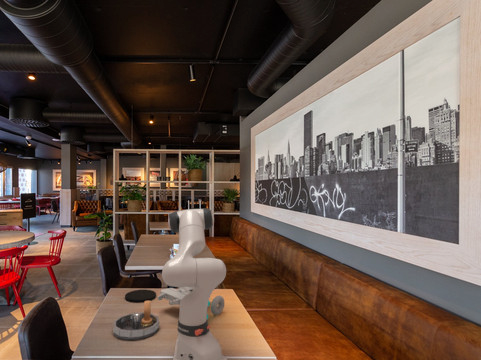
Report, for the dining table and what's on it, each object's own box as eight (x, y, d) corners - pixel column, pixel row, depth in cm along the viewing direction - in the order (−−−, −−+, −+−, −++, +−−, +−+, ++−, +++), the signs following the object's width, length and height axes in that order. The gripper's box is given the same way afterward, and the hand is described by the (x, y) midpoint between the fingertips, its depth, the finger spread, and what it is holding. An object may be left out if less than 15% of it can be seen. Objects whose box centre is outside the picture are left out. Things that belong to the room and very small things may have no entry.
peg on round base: (154, 321, 153) (154, 300, 153) (147, 325, 148) (148, 304, 149) (145, 319, 155) (146, 299, 155) (139, 323, 150) (140, 302, 150)
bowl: (167, 329, 149) (167, 313, 149) (128, 345, 133) (129, 327, 133) (142, 317, 161) (143, 302, 161) (104, 330, 146) (105, 313, 146)
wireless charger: (121, 303, 179) (121, 300, 179) (128, 292, 196) (128, 289, 197) (153, 303, 181) (153, 299, 181) (157, 292, 199) (158, 289, 199)
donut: (214, 318, 163) (214, 299, 163) (208, 317, 165) (209, 297, 165) (225, 312, 171) (226, 294, 171) (220, 311, 173) (221, 292, 173)
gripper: (173, 283, 177) (152, 289, 166) (198, 292, 164) (177, 299, 153) (172, 294, 177) (151, 301, 166) (197, 305, 164) (176, 312, 153)
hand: (163, 300), depth 160 cm, fingers open, 8 cm apart
